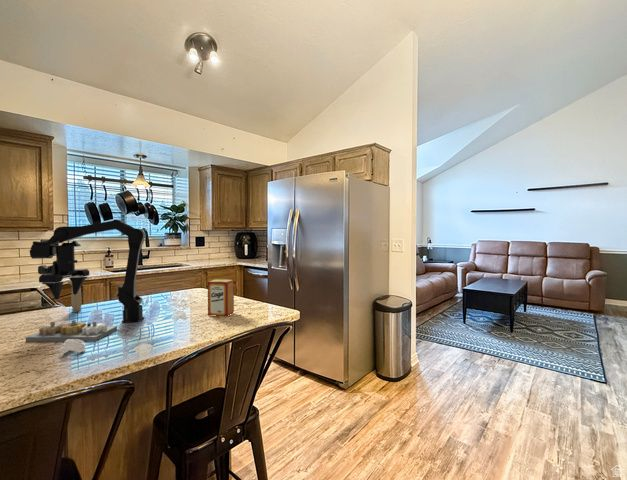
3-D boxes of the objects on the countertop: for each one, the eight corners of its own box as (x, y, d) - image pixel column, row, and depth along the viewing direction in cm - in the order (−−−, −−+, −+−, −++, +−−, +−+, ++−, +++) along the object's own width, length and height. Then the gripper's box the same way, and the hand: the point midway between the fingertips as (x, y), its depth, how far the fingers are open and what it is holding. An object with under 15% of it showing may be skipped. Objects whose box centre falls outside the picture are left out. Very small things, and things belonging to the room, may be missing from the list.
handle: (87, 309, 150) (86, 279, 149) (73, 313, 143) (73, 281, 143) (79, 309, 151) (78, 278, 150) (66, 312, 145) (65, 280, 144)
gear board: (117, 330, 119) (116, 316, 119) (95, 341, 107) (95, 325, 107) (54, 330, 118) (53, 316, 118) (25, 341, 106) (25, 325, 106)
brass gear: (90, 328, 116) (90, 321, 116) (76, 334, 109) (76, 327, 109) (71, 328, 116) (71, 321, 116) (56, 334, 109) (55, 327, 109)
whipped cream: (58, 354, 98) (56, 340, 98) (84, 347, 102) (82, 333, 102) (61, 360, 92) (58, 344, 92) (88, 352, 97) (86, 337, 97)
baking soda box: (208, 315, 139) (207, 280, 139) (215, 312, 146) (215, 278, 145) (227, 317, 137) (227, 281, 137) (233, 313, 144) (233, 279, 143)
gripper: (63, 256, 132) (64, 292, 132) (23, 260, 113) (24, 302, 114) (89, 256, 132) (90, 292, 132) (54, 260, 113) (54, 302, 114)
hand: (66, 296), depth 123 cm, fingers open, 9 cm apart
